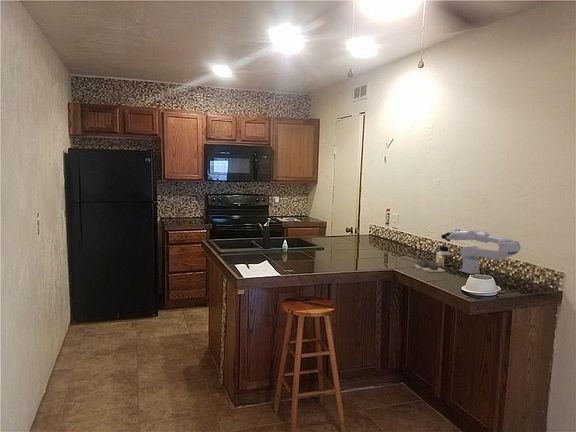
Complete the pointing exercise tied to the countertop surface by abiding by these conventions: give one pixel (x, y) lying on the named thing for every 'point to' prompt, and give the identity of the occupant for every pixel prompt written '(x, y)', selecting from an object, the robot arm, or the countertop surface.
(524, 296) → the countertop surface
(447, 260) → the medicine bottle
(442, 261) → the brass fitting
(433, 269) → the manifold board
